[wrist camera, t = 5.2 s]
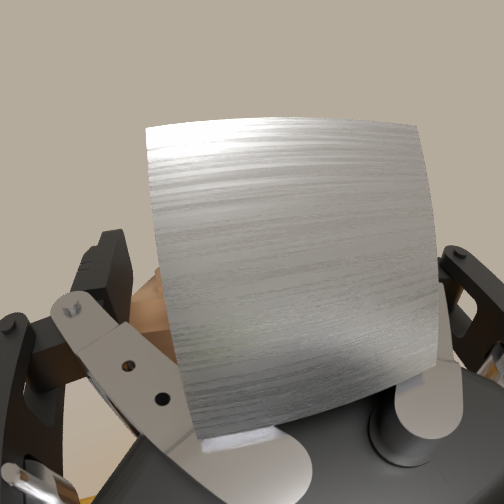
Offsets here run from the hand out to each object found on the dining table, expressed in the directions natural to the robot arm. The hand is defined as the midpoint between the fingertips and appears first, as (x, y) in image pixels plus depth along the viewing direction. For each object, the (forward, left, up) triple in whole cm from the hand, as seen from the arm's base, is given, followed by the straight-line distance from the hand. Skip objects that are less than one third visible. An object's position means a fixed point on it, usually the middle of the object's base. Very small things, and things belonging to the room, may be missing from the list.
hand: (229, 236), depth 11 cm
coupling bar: (0, +5, -2) cm, 5 cm away
